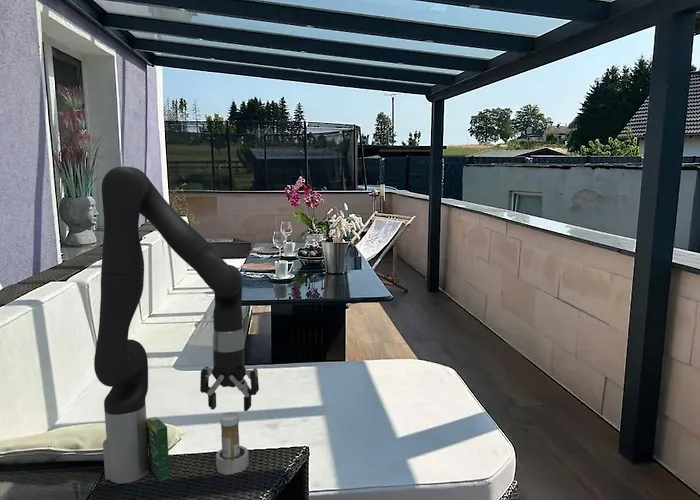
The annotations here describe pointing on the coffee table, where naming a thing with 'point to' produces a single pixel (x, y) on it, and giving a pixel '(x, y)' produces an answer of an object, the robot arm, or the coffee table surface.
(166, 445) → the coffee box
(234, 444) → the sprinkles bottle
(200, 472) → the coffee table surface
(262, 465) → the coffee table surface
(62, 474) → the coffee table surface
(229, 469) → the aluminium ring
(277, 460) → the coffee table surface
